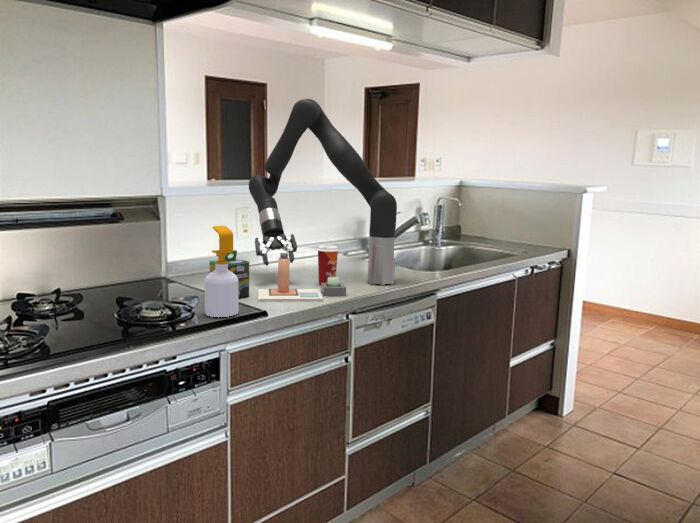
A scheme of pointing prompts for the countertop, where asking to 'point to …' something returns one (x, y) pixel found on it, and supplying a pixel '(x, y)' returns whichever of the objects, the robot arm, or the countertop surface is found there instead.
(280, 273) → the orange bottle with cap
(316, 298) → the board
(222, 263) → the soap bottle
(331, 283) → the button
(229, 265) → the chalk box
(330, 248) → the paper cup
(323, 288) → the frame
